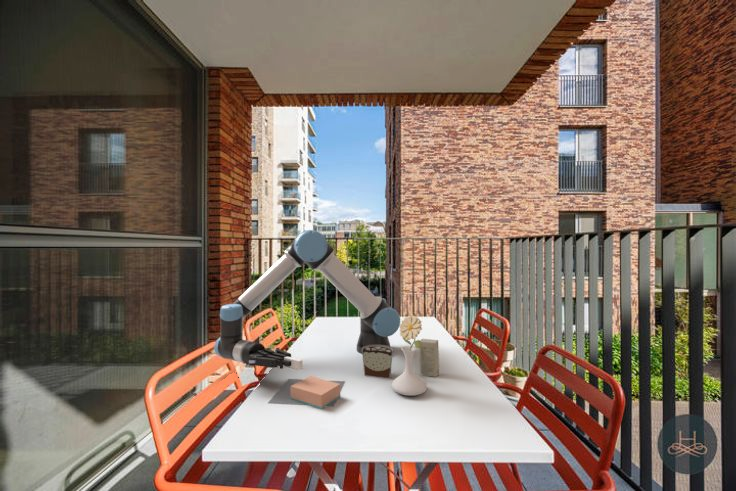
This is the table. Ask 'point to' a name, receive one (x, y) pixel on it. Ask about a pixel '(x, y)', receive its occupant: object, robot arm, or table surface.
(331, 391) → the salmon orange block
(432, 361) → the skincare box
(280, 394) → the mat
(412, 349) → the flower in vase
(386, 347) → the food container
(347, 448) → the table surface
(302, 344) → the table surface
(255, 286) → the robot arm
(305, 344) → the table surface
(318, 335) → the table surface
